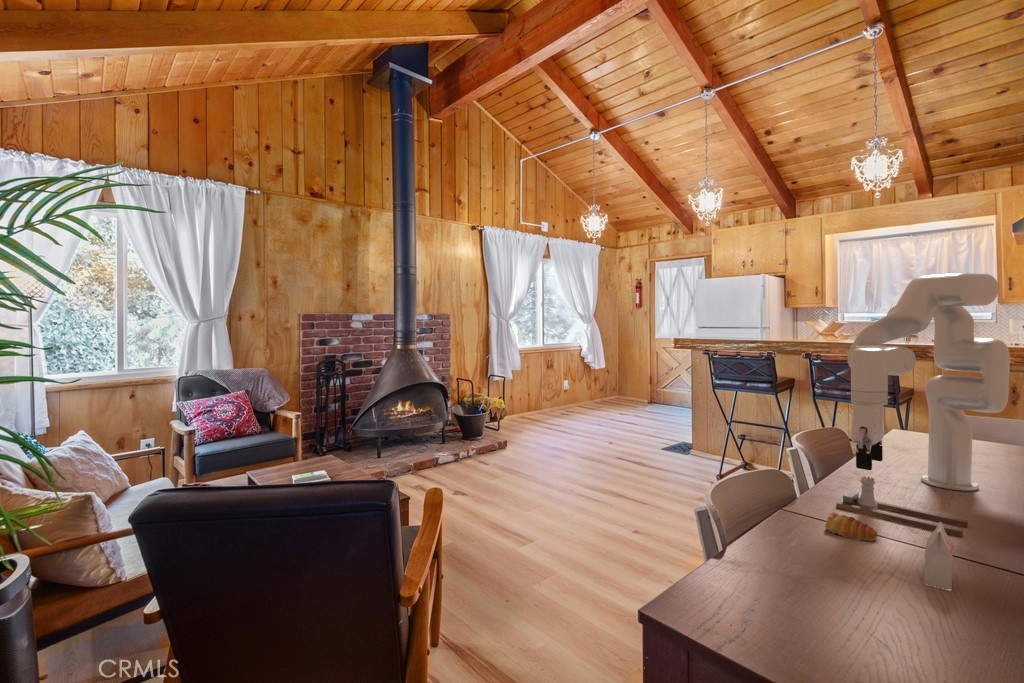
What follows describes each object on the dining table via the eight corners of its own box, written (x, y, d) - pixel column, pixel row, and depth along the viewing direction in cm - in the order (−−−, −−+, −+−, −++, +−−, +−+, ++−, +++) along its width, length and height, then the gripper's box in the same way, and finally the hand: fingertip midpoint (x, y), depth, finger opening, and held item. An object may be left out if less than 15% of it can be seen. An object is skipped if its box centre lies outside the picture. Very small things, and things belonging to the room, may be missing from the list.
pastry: (881, 537, 111) (881, 520, 110) (871, 546, 106) (871, 528, 106) (833, 524, 118) (833, 508, 118) (822, 532, 114) (822, 515, 114)
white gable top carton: (924, 584, 90) (925, 529, 90) (926, 570, 96) (927, 518, 95) (951, 591, 88) (952, 535, 88) (952, 577, 93) (953, 523, 93)
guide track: (847, 499, 134) (847, 494, 134) (967, 525, 116) (968, 520, 116) (836, 507, 128) (836, 503, 128) (961, 537, 110) (961, 531, 110)
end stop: (849, 501, 132) (849, 490, 132) (858, 503, 131) (858, 492, 130) (842, 507, 128) (842, 495, 128) (851, 509, 127) (852, 497, 127)
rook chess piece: (881, 513, 124) (882, 481, 124) (861, 511, 125) (862, 480, 125) (872, 506, 129) (873, 475, 128) (853, 505, 129) (853, 474, 129)
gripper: (861, 391, 134) (861, 454, 135) (841, 400, 123) (841, 469, 124) (896, 393, 129) (896, 459, 130) (878, 404, 117) (878, 476, 118)
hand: (869, 464), depth 127 cm, fingers open, 9 cm apart
